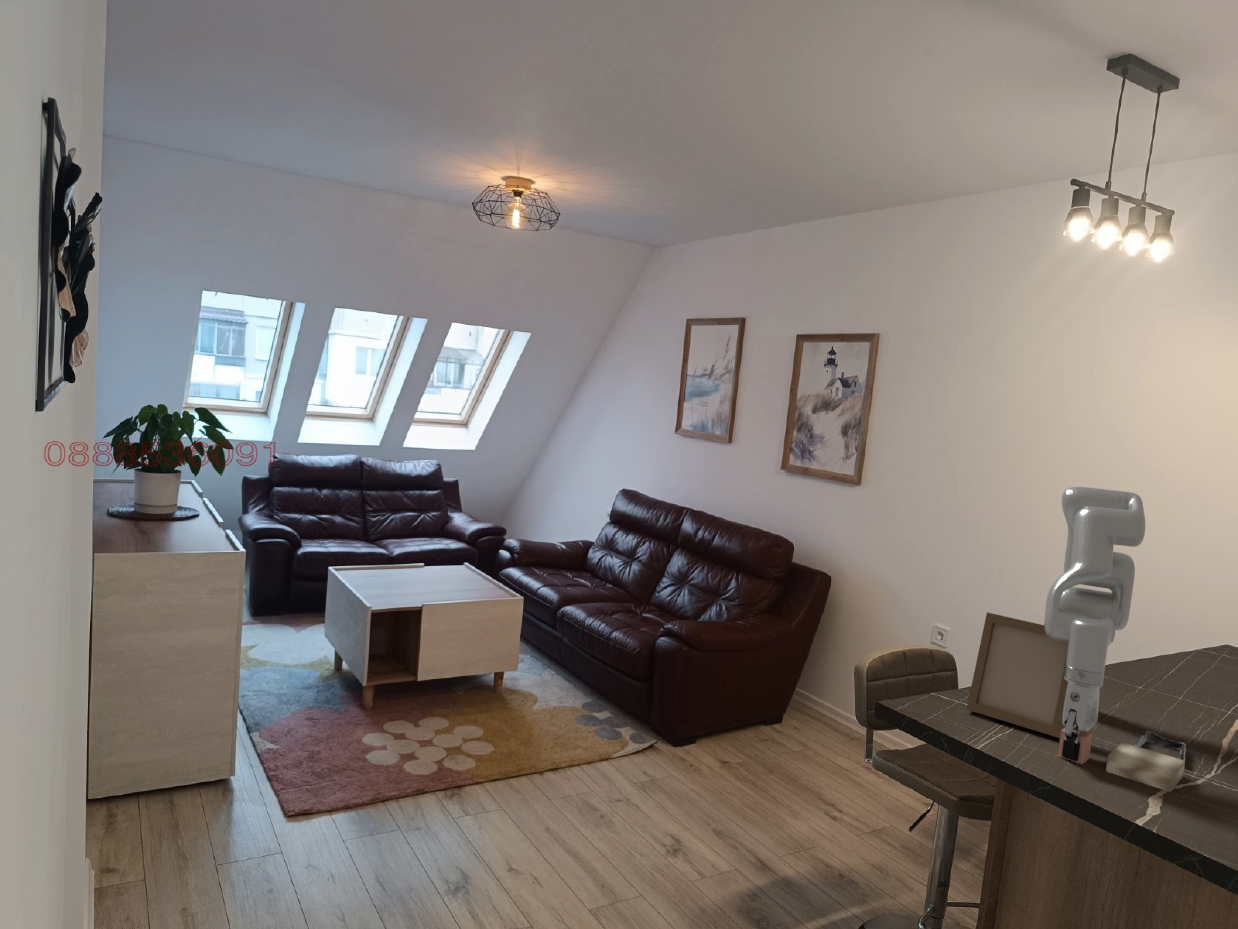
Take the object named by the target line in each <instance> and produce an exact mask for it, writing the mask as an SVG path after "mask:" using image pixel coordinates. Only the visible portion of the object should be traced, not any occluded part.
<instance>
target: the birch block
mask: <svg viewBox="0 0 1238 929" xmlns="http://www.w3.org/2000/svg"><path fill="white" fill-rule="evenodd" d="M1185 764H1186V760H1181V759H1180V758H1177V757H1173V756H1170V755H1168V754H1163V753H1161V752H1158V751H1153V750H1151V749H1147V748H1143V747H1137V746H1134V744H1130V743H1127V742H1123V741H1122V742H1121V743H1120V744H1119V745H1117V747H1116V748H1114V749H1113V750H1112V751H1111V752H1110V753H1109V754H1108V755H1107V760H1106V769H1105V772H1106V771H1107V772H1106V773H1109V774H1112V773H1113V775H1115V774H1116V775H1115V776H1119V777H1121V778H1125V779H1128V780H1132V781H1134V782H1138V783H1141V784H1144V785H1147V786H1151V787H1153V788H1157V789H1160V790H1163V791H1166V792H1168V793H1169V792H1170V793H1171V792H1172V791H1173V790H1174V789H1175V787H1176V786H1177V785H1178V784H1179V782H1180V781H1181V780H1182V778H1183V777H1184V774H1185V773H1184V771H1185Z"/></svg>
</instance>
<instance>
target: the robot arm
mask: <svg viewBox="0 0 1238 929" xmlns="http://www.w3.org/2000/svg"><path fill="white" fill-rule="evenodd" d="M1061 508H1062V511H1063V512H1062V513H1063V514H1064V518H1065V521H1066V525H1067V539H1066V546H1065V552H1064V553H1065V554H1064V561H1063V562H1064V564H1063V573H1062V574H1061V575H1060V576H1059V577H1058V578H1056V580H1055V581H1054V582H1053V583H1052V585H1051V586H1050V588H1049V590H1048V593H1047V595H1046V596H1047V597H1046V600H1045V602H1046V603H1045V610H1044V611H1045V613H1044V621H1043V622H1044V624H1043V625H1044V629H1045V633H1046V635H1047V636H1048V637H1049V638H1050V639H1052V640H1055V641H1060V642H1066V643H1068V651H1067V659H1066V667H1065V676H1064V679H1065V680H1067V681H1068V686H1067V690H1066V696H1065V702H1064V709H1063V717H1062V723H1063V725H1064V726H1066V727H1065V735H1064V742H1063V750H1062V757H1064V758H1067V759H1070V760H1074V761H1078V758H1079V750H1080V743H1079V738H1080V734H1081V730H1082V731H1083V732H1086V731H1088V732H1090V730H1091V729H1092V728H1093V727H1095V726H1096V725H1097V723H1098V718H1099V709H1100V708H1099V707H1100V706H1099V705H1100V692H1101V691H1100V690H1101V689H1100V688H1102V687H1103V685H1104V678H1105V669H1106V661H1107V654H1108V647H1109V646H1110V645H1111V644H1112V643H1113V642H1114V641H1115V637H1116V631H1122V630H1123V629H1125V628H1126V626H1127V625H1128V622H1129V618H1130V612H1131V611H1130V610H1131V603H1132V598H1133V591H1134V583H1135V577H1136V576H1135V574H1136V573H1135V572H1136V568H1135V562H1134V560H1133V557H1132V556H1130V555H1128V554H1126V553H1122V552H1118V551H1117V552H1116V551H1114V546H1115V545H1116V546H1121V547H1122V546H1123V547H1129V548H1131V547H1133V548H1136V547H1138V546H1140V545H1141V544H1142V542H1143V541H1144V537H1145V534H1146V516H1145V515H1146V514H1145V509H1144V503H1143V500H1142V498H1141V496H1140V495H1139V494H1137V493H1134V492H1130V491H1122V490H1112V489H1104V488H1098V487H1097V488H1096V487H1086V486H1073V487H1071V486H1070V487H1068V488H1066V489H1065V490H1064V491H1063V492H1062V495H1061ZM1078 585H1082V586H1090V587H1095V588H1102V589H1107V590H1110V591H1111V592H1110V591H1109V592H1108V591H1102V590H1096V589H1089V588H1083V587H1075V586H1078ZM1073 730H1075V731H1077V733H1076V734H1075V732H1073Z"/></svg>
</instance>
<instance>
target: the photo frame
mask: <svg viewBox="0 0 1238 929" xmlns="http://www.w3.org/2000/svg"><path fill="white" fill-rule="evenodd" d="M978 648H979V649H978V651H977V652H978V653H977V657H976V663H975V668H974V672H973V677H972V682H971V686H970V691H969V696H968V700H967V706H966V710H968V711H970V712H974V713H977V714H980V715H984V716H987V717H990V718H992V719H993V718H994V719H996V720H1000V721H1002V722H1006V723H1008V724H1009V723H1010V724H1013V725H1016V726H1019V727H1022V728H1025V729H1029V730H1033V731H1035V732H1039V733H1042V734H1045V735H1049V736H1051V737H1054V738H1057V739H1060V735H1061V730H1063V729H1064V728H1065V727H1066V726H1064V725H1063V723H1062V717H1063V709H1064V702H1065V696H1066V690H1067V686H1068V681H1067V680H1065V679H1064V676H1065V667H1066V659H1067V651H1068V643H1066V642H1060V641H1055V640H1052V639H1050V638H1049V637H1048V636H1047V635H1046V633H1045V629H1044V624H1040V623H1037V622H1031V621H1027V620H1022V619H1017V618H1014V617H1008V616H1005V615H1000V614H996V613H991V612H986V615H985V620H984V624H983V629H982V634H981V638H980V645H979V647H978Z"/></svg>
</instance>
